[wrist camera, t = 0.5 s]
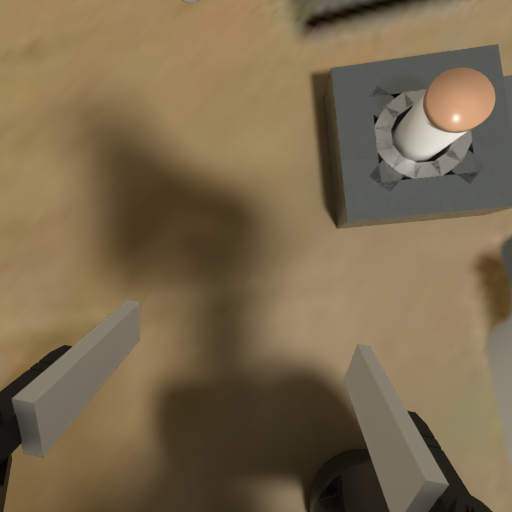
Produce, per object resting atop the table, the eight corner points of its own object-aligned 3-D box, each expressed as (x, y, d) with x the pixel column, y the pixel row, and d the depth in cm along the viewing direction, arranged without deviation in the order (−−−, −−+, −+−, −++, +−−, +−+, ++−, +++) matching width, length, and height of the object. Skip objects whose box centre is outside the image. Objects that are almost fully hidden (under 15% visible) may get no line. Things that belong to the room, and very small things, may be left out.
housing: (485, 214, 33) (522, 205, 28) (337, 228, 34) (347, 221, 29) (465, 77, 34) (498, 44, 29) (323, 96, 35) (331, 68, 30)
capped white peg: (426, 171, 34) (499, 124, 23) (381, 176, 34) (431, 132, 23) (420, 129, 34) (490, 63, 23) (376, 135, 35) (423, 72, 24)
